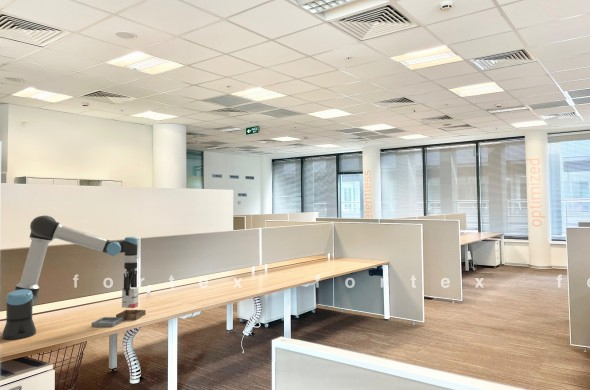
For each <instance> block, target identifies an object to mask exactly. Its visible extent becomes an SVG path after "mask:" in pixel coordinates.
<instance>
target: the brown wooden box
mask: <svg viewBox="0 0 590 390" xmlns="http://www.w3.org/2000/svg"><path fill="white" fill-rule="evenodd" d="M145 315H146V309H125V310H123V311H121V312H119V313H116V314H115V317H124V321H137V320H139V319H140V318H142V317H144V316H145Z"/></svg>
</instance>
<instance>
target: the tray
mask: <svg viewBox="0 0 590 390" xmlns="http://www.w3.org/2000/svg"><path fill="white" fill-rule="evenodd" d="M124 321H125V320H124V317H116V316H103V317H100V318H99V319H96V320H95V321H92V322H91V328H92V327H93V328H95V327H96V328H99V327H100V328H101V327H104V328H105V327H106V328H109V327H111V328H114V327H115V326H117V325H118V324H121V323H122V322H124Z"/></svg>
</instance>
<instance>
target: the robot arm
mask: <svg viewBox="0 0 590 390" xmlns="http://www.w3.org/2000/svg"><path fill="white" fill-rule="evenodd" d="M29 227H30V228H29V229H30V233H29V234H30V235H29V238H30V240H31V242H30V245H29V248H28V252H27V257H26V260H25V263H24V267H23V270H22V274H21V278H20V281H19V283H16V285H15V288H14V290H12V291H9V292H8V293H7V294H6V297H5V298H6V299H5V301H6V304H5V305H6V307H5V308H6V322H5V326H4V329H3V331H2V335H1V337H2V339H3V340H9V341H10V340H20V339H25V338H29V337H33V336H34V335H36V334H37V328H36V325H35V323H34V320H33V307H34V306H35V305H36V304H37V301H38V298H39V297H38V295H39V291H40V286H39V284H38V283H39V280H40V276H41V273H42V269H43V265H44V261H45V257H46V253H47V251H48V246H49V244H50V243H51V242H53V240H54V239H57V240H59V241H64V242H68V243H71V244H74V245H77V246H82V247H84V248H87V249H92V250H95V251H99V252H102V253H103V254H107V255H109V256H117V255H119V254H124V256H123V258H124V259H123V261H124V266H123V268H124V269H125V271H126V272H125V273H123V288H124V290H126V291H125V301H130V287H134V288H138V276H137V275H138V270H136V269H137V268H138V259H139V257H138V251H139V250H138V249H139V247H138V246H139V245H138V243H139V241H138V237H136V236H126V237H124V239H123V240H110V239H107V238H105V237H104V238H103V237H100V236H97V235H94V234H91V233H89V232H88V233H87V232H84V231H80V230H78V229H74V228H72V227H68V226H64V225H62V223H61V222H57V221H56V219H55V218H54V217H52V216H50V215H39V216H36V217H34V218H33V219H32V221H30V224H29Z"/></svg>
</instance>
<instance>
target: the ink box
mask: <svg viewBox="0 0 590 390" xmlns="http://www.w3.org/2000/svg"><path fill="white" fill-rule="evenodd" d="M121 291H122V292H121V293H122V294H121V308H123V309H135V308H137V307H139V287H137V288H134V287H131V286H130V301H125V291H126V290H124V287H122V289H121Z"/></svg>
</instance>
